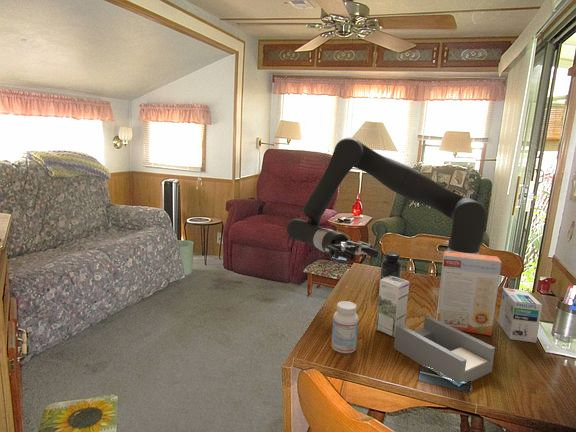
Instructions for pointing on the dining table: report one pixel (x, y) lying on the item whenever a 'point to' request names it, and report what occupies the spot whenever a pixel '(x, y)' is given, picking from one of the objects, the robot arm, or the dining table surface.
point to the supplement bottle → (391, 265)
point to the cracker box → (468, 291)
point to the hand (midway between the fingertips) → (366, 256)
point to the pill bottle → (345, 328)
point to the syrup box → (392, 304)
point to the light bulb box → (519, 315)
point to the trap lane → (446, 350)
